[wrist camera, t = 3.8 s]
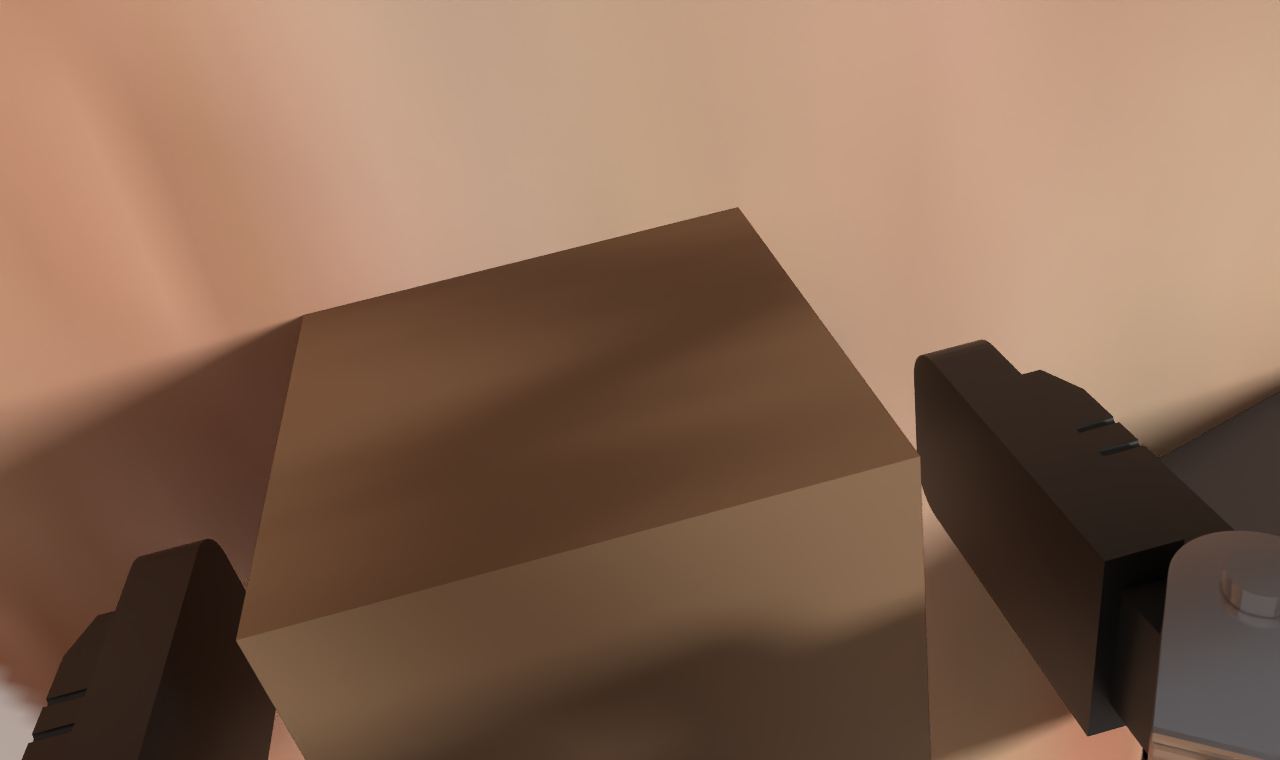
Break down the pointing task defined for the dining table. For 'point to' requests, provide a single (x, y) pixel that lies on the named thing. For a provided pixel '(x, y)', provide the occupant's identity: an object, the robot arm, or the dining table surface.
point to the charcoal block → (1237, 468)
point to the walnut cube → (591, 520)
